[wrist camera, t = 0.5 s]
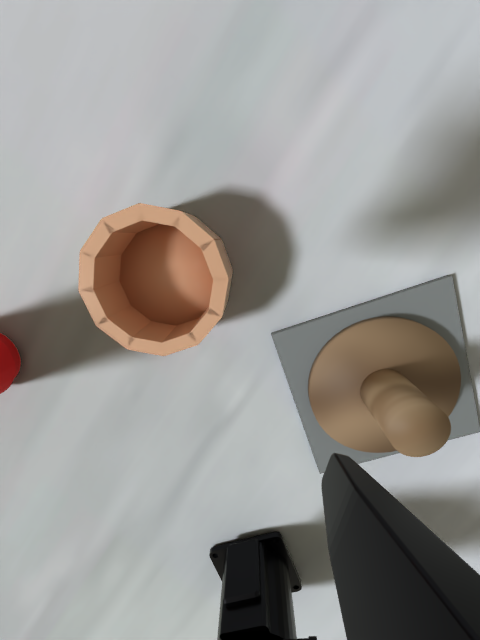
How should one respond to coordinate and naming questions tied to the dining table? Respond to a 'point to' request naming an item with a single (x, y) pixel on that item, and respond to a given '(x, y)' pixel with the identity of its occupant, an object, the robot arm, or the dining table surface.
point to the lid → (386, 387)
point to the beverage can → (8, 362)
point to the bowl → (154, 278)
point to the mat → (412, 303)
